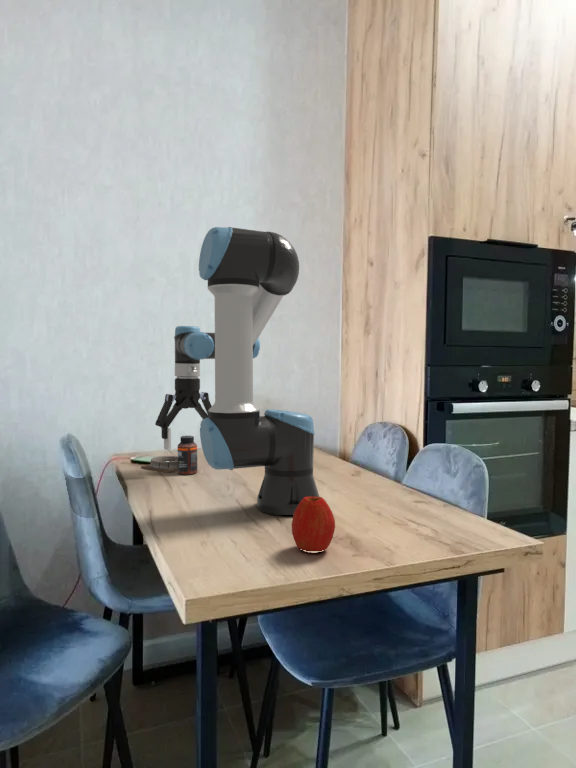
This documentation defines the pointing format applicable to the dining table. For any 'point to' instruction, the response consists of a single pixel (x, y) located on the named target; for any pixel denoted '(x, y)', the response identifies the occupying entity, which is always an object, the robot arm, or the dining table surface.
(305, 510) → the apple
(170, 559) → the dining table surface
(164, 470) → the socket
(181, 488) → the dining table surface
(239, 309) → the robot arm
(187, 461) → the supplement bottle
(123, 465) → the dining table surface
